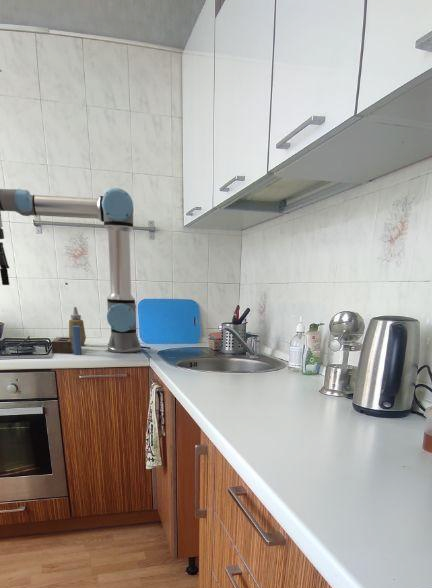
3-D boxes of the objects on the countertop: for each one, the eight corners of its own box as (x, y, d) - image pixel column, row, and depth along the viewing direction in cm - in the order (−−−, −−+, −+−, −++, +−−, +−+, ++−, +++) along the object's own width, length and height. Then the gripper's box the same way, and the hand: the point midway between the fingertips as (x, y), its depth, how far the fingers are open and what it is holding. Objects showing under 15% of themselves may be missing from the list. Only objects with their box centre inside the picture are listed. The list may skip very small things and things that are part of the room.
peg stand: (76, 348, 222) (75, 337, 220) (72, 353, 208) (71, 341, 206) (57, 347, 221) (56, 337, 219) (52, 353, 207) (51, 341, 205)
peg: (82, 353, 208) (80, 325, 204) (81, 354, 205) (79, 326, 201) (74, 353, 208) (72, 325, 203) (73, 354, 205) (71, 326, 200)
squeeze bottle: (82, 346, 226) (79, 308, 220) (66, 345, 228) (63, 307, 221) (89, 344, 234) (86, 307, 227) (73, 343, 235) (70, 306, 228)
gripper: (-8, 230, 194) (0, 284, 202) (-29, 224, 171) (-19, 285, 179) (11, 230, 195) (18, 284, 203) (-8, 224, 172) (2, 286, 180)
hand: (1, 285), depth 191 cm, fingers open, 13 cm apart
